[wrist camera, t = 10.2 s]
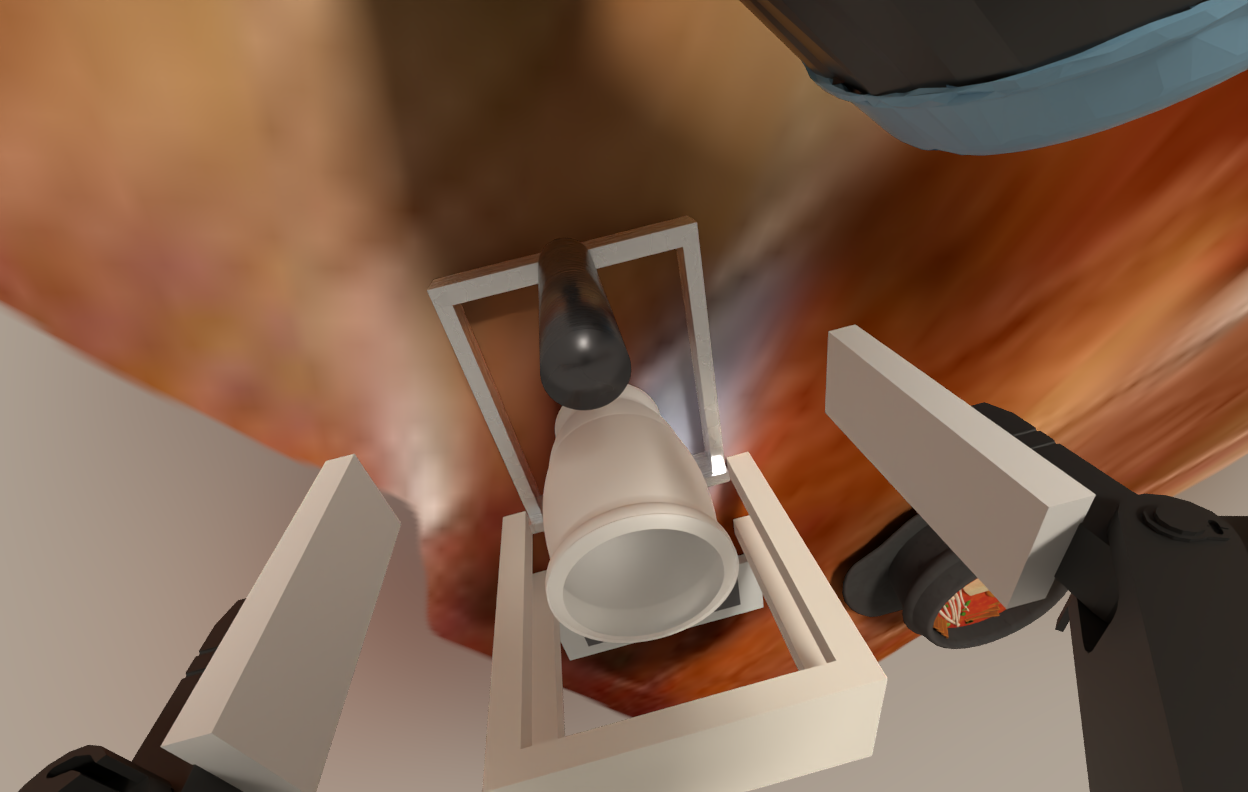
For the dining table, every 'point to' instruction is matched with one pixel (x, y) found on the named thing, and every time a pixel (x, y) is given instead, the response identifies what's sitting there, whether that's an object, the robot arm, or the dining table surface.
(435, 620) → the dining table surface
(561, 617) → the jar
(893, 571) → the casserole
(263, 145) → the dining table surface
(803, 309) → the dining table surface
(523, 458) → the picture frame
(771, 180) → the dining table surface
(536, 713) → the open rectangular frame
